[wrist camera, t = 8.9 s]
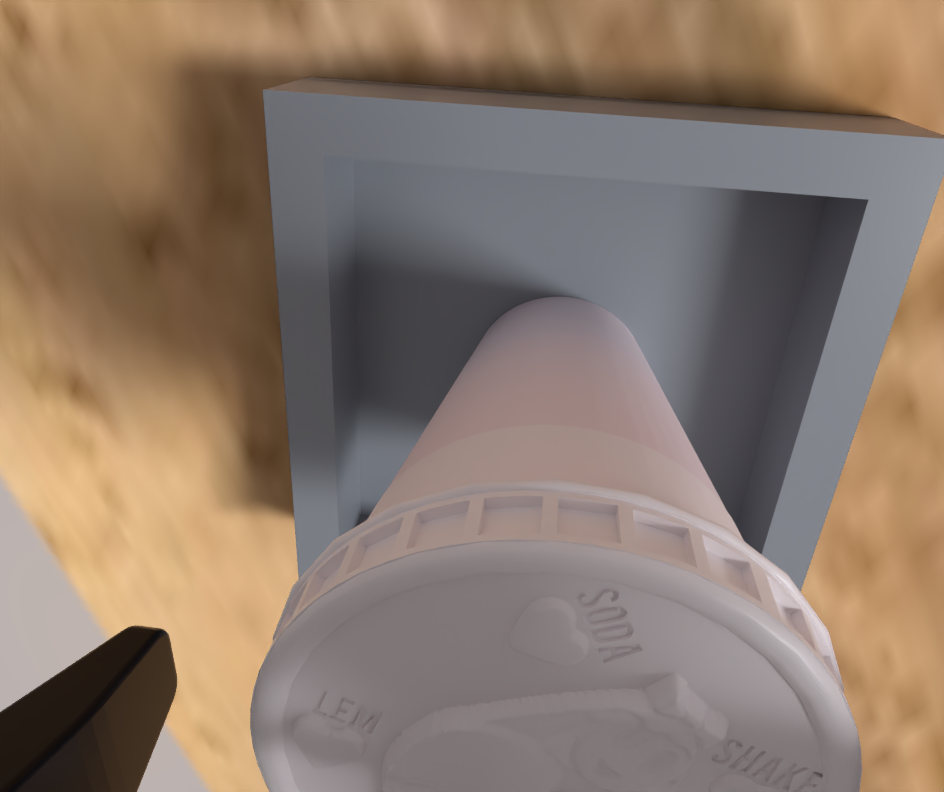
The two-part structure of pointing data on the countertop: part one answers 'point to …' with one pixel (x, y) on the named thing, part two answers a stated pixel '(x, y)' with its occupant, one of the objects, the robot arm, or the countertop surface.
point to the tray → (588, 273)
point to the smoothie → (551, 604)
